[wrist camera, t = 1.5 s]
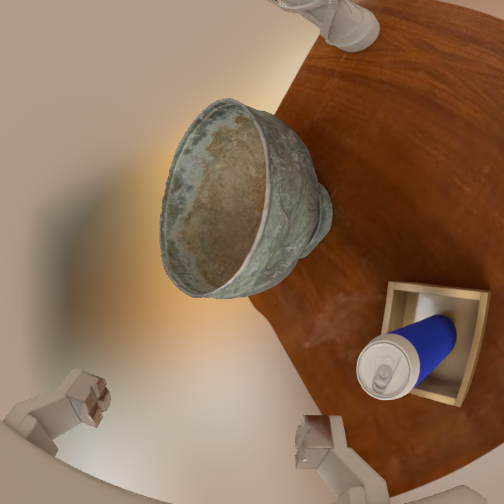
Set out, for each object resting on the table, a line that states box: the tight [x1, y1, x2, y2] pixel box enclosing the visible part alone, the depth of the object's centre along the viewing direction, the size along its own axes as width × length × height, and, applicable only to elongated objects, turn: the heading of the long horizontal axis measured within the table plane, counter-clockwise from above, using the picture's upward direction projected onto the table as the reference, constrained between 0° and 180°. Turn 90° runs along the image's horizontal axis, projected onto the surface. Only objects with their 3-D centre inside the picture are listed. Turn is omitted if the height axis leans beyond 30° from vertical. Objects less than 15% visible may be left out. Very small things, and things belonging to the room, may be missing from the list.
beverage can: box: [357, 315, 457, 400], centre depth 21 cm, size 5×5×15 cm
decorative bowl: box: [160, 98, 333, 299], centre depth 40 cm, size 26×26×20 cm
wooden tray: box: [381, 281, 491, 407], centre depth 25 cm, size 12×12×5 cm
